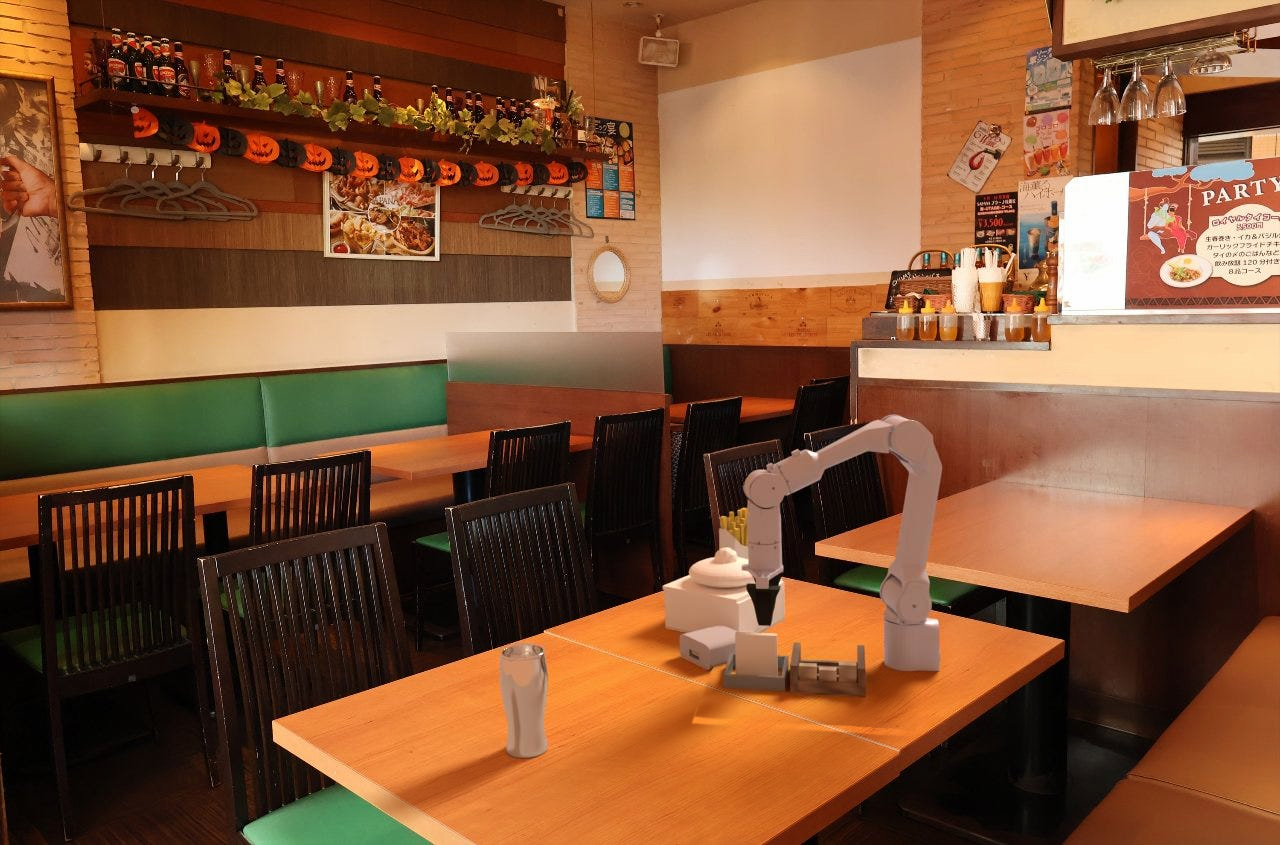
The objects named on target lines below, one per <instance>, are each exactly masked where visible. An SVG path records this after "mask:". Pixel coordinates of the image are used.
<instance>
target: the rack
mask: <svg viewBox="0 0 1280 845" xmlns="http://www.w3.org/2000/svg"><path fill="white" fill-rule="evenodd" d="M865 649H866V648H865V645H863V644H862V645H860V644H858V645H856V650H857V654H856V656H857V660H856V661H855V662H856V666H857V682H839V662H850V661H847V660H844V661H843V660H827V659H826V660H824V659H823V660H822V659H818V660H817V659H802V643H801V642H793V645H792V651H791V658H790V662H789V678H790V679H789V683H790V684H789V688H790V689H789V690H790V694H792V695H793V694H794V695H797V694H798V695H813V696H833V697H834V696H836V697H853V698H854V697H855V698H866V695H867V694H866V692H867V691H866V689H867V688H866V687H867V686H866V683H867V681H866V680H867V679H866V677H867V676H866V675H867V674H866V655H865V654H866V652H865ZM799 663H817V680H799ZM819 667H837V681H819Z"/></svg>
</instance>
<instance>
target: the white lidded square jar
mask: <svg viewBox="0 0 1280 845" xmlns="http://www.w3.org/2000/svg"><path fill="white" fill-rule="evenodd" d="M743 564H748V559H745V558H740V557H738V556H737V554H736V552H735V551H734V550H732V549H731V548H727V547H725V548H721V549H720V550H717V551H716V552H715V554H714V557H708V558H705V559H702V560H699V561H697V562H696V563H694V564H692V566H690V568H689V569H688V570H689V571H688V575H686V576H683V577H680V578H678V579H676V580H673V581H671V582H669V583H666V584H664V585H662V590H663V592H664V618H665V619H664V620H665V621H664V622H665V629H667V630H672V631H675V630H676V631H677V632H680V633H684V632H685V633H684V634H686V633H690V632H694V631H698V630H702V629H706V628H710V627H714V626H718V625H723V626H726V627H728V628H731V629H733V630H735V631H738V632H741V631H745V630H747V631H749V632H752V633H755V632H756V633H764V632H765V631H767V630H768V629H771V628H773V627H774V626H776V625H777V624H778V625H779V624H780V623H783V621H785V620H786V609H785V608H786V604H785V603H786V601H785V600H786V598H785V595H786V594H785V581H783V577H781V580H780V582H779V585H778V586H781V587H780V591H779V593H778V595H777V597H776V603H775V608H774V612H773V618H772V623H771V626H759V625H758V622H757V618H756V613H755V609H754V605H753V602H752V599H751V597H750V595H749V594H748V592H747V589H746V586H747V583H751V584H756V583H755V581H754V578H753V576H752V575H751V574H750V573H749V572H748V571H743V570H742V565H743Z"/></svg>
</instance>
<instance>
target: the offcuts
mask: <svg viewBox="0 0 1280 845" xmlns="http://www.w3.org/2000/svg"><path fill="white" fill-rule="evenodd" d="M856 662H857V661H849V662H839V682H857V666H856ZM799 680H817V663H799ZM819 681H837V667H819Z"/></svg>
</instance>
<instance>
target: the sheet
mask: <svg viewBox="0 0 1280 845" xmlns="http://www.w3.org/2000/svg"><path fill="white" fill-rule="evenodd" d="M735 654H736V667H735V674H745V675H765V676H779V675H778V674H779V671H778V670H779V669H778V657H777V655H778V633H773V632H771V633H770V632H768V633H767V632H761V633H751V632H736V633H735Z"/></svg>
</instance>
